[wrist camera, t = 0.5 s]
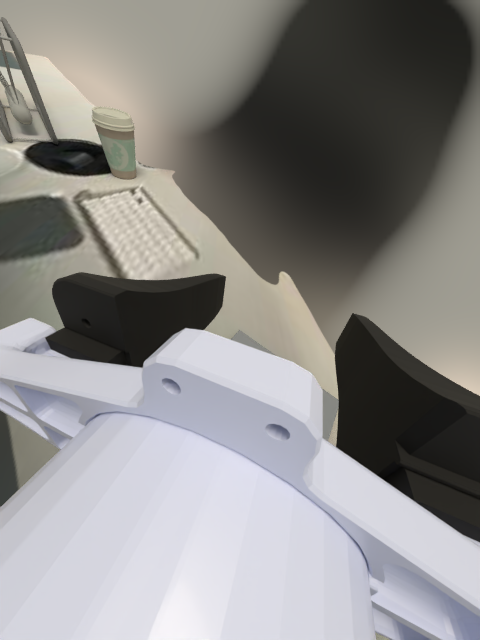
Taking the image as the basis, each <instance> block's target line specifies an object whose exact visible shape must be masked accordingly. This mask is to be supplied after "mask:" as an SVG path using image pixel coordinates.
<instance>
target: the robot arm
mask: <svg viewBox="0 0 480 640" xmlns="http://www.w3.org/2000/svg"><path fill="white" fill-rule="evenodd" d="M225 280H226V276H223V275H219V274H206V275H200V276H194V277H188V278H180V279H172V280H132V279H121V278H113V277H106V276H100V275H94V274H88V273H82V272H81V273H76V274H73V275H70V276H66V277H63V278H60V279H57V280H56V281H55V282H54V285H53V288H52V295H53V299H54V302H55V305H56V307H57V310H58V312H59V315H60V317H61V319H62V322H63V324H64V327H65V328H63V329H61V330H59V331H56V330H55V329H54V328H53V327H52V326H50V325H48V324H45V323H43V322H41V321H38V320H36V319H33V318H28V319H26V320H24V321H21V322H19V323H16V324H14V325H11V326H9V327H6V328H4V329H2V330H0V410H1V411H2V412H4V413H6V414H7V415H9V416H10V417H12V418H14V419H15V420H17V421H18V422H20V423H21V424H23V425H24V426H26V427H27V428H29V429H30V430H32V431H33V432H35V433H36V434H38V435H39V436H41V437H42V438H44V439H45V440H47V441H48V442H49V443H51V444H52V445H54V446H55V447H57V448H58V449H60V451H59V452H58V453H57V454H56V455H55V456H54V457H53V458H52V459H50V460H49V461H48V462H47V463H46V464H45V465H44V466H43V467H42V468H41V469H40V470H39V471H38V472H37V473H36V474H35V475H34V476H33V477H32V478H31V479H30V480H29V481H28V482H27V483H25V484H24V485H23V486H22V487H21V488H20V489H19V490H18V491H17V492H16V493H15V494H14V495H13V496H12V497H11V498H10V499H9V500H8V501H7V502H6V503H5V504H4V505H3V506H2V507H0V640H376V636H375V632H376V633H378V634H380V635H382V636H384V637H386V638H388V639H390V640H480V396H478V395H477V394H474V393H473V392H471V391H469V390H467V389H465V388H463V387H461V386H460V385H458V384H456V383H455V382H453V381H451V380H449V379H448V378H446V377H444V376H443V375H441V374H439V373H438V372H436V371H435V370H433V369H431V368H430V367H428V366H427V365H425V364H424V363H422V362H421V361H420V360H418V359H416V358H415V357H414V356H412V355H411V354H410V353H408V352H407V351H406V350H405V349H403V348H402V347H401V346H400V345H398V344H397V343H396V342H395V341H394V340H392V339H391V338H390V337H389V336H388V335H387V334H385V333H384V332H383V331H382V330H381V329H380V328H379V327H378V326H376V325H375V324H374V323H373V322H372V321H370V320H369V319H368V318H366V317H364V316H360V315H357V314H354V313H353V314H352V315H351V317H350V319H349V321H348V323H347V324H346V326H345V328H344V330H343V332H342V333H341V335H340V337H339V339H338V341H337V343H336V350H335V364H336V374H337V384H338V396H339V409H338V431H337V444H336V447H335V446H334V445H332V444H331V443H329V442H328V441H326V440H325V439H324V438H322V437H323V390H322V388H321V387H320V385H319V384H318V382H317V381H316V379H315V377H314V376H313V374H312V373H310V372H308V371H307V370H305V369H303V368H302V367H300V366H298V365H297V364H295V363H293V362H292V361H289V360H286V359H283V358H280V357H277V356H275V355H272V354H269V353H266V352H263V351H261V350H258V349H255V348H252V347H249V346H247V345H244V344H241V343H238V342H235V341H232V340H230V339H227V338H224V337H221V336H218V335H216V334H213V333H210V332H207V331H204V329H205V328H206V327H207V326H208V325H209V324H210V322H211V321H212V320H213V319H214V318H215V317H216V315H217V314H218V312H219V311H220V309H221V307H222V304H223V296H224V288H225Z"/></svg>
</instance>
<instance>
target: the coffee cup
mask: <svg viewBox="0 0 480 640" xmlns="http://www.w3.org/2000/svg"><path fill="white" fill-rule="evenodd" d="M92 112H93V115H92V118H93V120H92V121H93V123H95V126H96V129H97V132H98V135H99V137H100V140H101V143H102V146H103V149H104V152H105V155H106V158H107V161H108V163H109V166H110V169H111V172H112V174H113V175H114V176H116V177H118V178H122V179H133V178H135V177H136V162H135V143H134V129H135V127H134V123H133V122H132V119H131V116H130V115H129V114H128V113H126V112H123V111H120V110H118V109H113V108H108V107H94V108H93V109H92Z"/></svg>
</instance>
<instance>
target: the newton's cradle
mask: <svg viewBox="0 0 480 640" xmlns="http://www.w3.org/2000/svg"><path fill="white" fill-rule="evenodd" d="M0 21H2V23H3V26H4V28H5V31H6V33H7V36H8V37H4V35H3V33H2V31H1V29H0V34H1V35H2V36H0V46H1V50H2V53H3V57H4V60H5V64H6V67H7V71H8V75H9V78H10V82H11V85H12V86H11V85H6V84H8V83H7V81H6V80H4V79H5V78H4V77H1V76H3V75H1V74H2V73H1V72H0V81H1V80H3V81H6V82H3V81H1V82H3V83H5V84H3V83H2V84H3V86H4V85H5V86H4V87H5V93H6V95H7V99H8V102H9V105H10V106H5V105H2V103H1V101H0V117H1V118H0V130H1V132H2V133H3V135H4V137H5V138H6V140H7V141H9V142H12V140H23V141H39V142H53V143H54V144H56V145H57V144H58V141H57V138H56V135H55V133H54V130H53V127H52V125H51V122H50V120H49V117H48V114H47V112H46V109H45V106H44V104H43V101H42V99H41V96H40V93H39V91H38V88H37V85H36V83H35V80H34V78H33V75H32V72H31V70H30V67H29V64H28V62H27V59H26V57H25V54H24V52H23V49H22V47H21V44H20V42H19V40H18V38H17V37H16V35H15V34H14V32H13V30H12V29H11V27H10V25H9V24H8V22H7V20H6V19H5V18H3V17H2V18H1V19H0ZM2 39H4V40H9V41H10V43H11V46H12V48H13V51H14V53H15V56H16V58H17V61H18V63H19V65H20V68H21V70H22V73H23V75H24V78H25V80H26V83H27V85H28V88H29V90H30V93H31V95H32V98H33V100H34V103H35V105H36V107H37V109H30V108H28V107H27V105H26V102H25V100H24V97H23V95H22V94H21V92H20V91H19V90H17V89H16V88H15V86H14V83H13V79H12V76H11V72H10V68H9V65H8V61H7V57H6V54H5V50H4V46H3V43H2ZM1 78H3V79H1ZM6 86H7V87H6ZM3 107H7V108H11V112H12V114H13V116H14V117H15V118H16V119H17V120H18V121H19V122H21V123H23V124H26V125H28V124H31V122H32V116H31V114H30V111H29V110H33V111H38V112H39V114H40V116H41V118H42V120H43V122H44V124H45V127H46V129H47V131H48V133H49V135H50V137H51V139H52V140H38V139H22V138H12V137H11V133H10V130H9V126H8V123H7V119H6V116H5V112H4V108H3Z"/></svg>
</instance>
